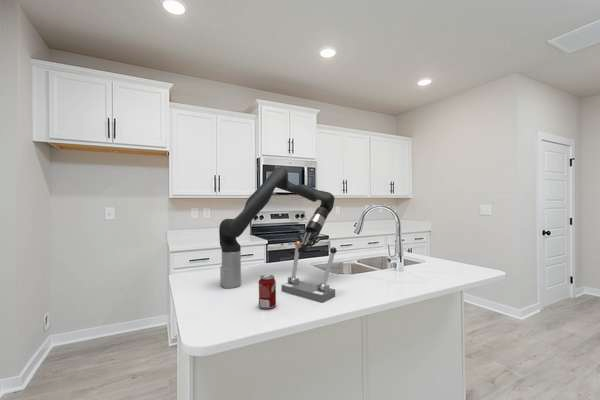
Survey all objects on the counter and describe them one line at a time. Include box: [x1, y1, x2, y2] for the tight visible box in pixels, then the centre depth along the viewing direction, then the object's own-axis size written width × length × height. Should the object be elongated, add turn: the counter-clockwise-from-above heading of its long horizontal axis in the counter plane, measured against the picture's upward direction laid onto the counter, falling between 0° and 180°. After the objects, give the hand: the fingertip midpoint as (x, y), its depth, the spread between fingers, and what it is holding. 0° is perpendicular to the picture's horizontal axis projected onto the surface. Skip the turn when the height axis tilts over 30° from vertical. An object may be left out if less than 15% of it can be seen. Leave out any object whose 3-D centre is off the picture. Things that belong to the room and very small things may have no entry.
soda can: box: [258, 274, 277, 310], centre depth 112 cm, size 7×7×12 cm
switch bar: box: [281, 276, 336, 304], centre depth 127 cm, size 10×23×6 cm, turn 51°
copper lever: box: [290, 240, 301, 283], centre depth 134 cm, size 3×3×20 cm
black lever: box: [319, 246, 338, 291], centre depth 125 cm, size 3×3×20 cm
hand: (301, 252), depth 135 cm, fingers closed
